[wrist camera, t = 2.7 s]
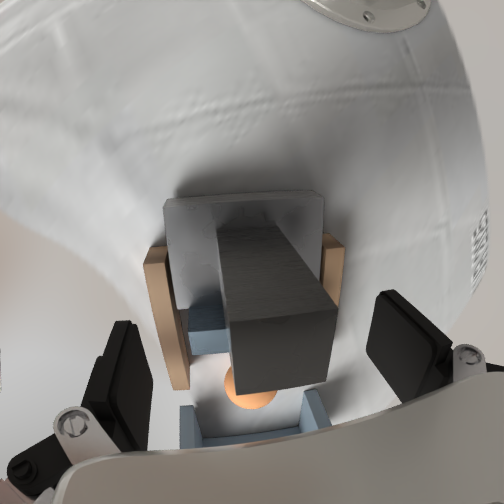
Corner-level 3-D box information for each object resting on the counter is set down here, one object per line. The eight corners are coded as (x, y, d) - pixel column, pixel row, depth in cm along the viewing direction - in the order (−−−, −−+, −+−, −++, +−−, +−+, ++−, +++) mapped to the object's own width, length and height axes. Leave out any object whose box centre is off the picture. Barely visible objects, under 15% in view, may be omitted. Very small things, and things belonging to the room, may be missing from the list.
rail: (149, 247, 18) (142, 264, 16) (329, 233, 19) (345, 247, 17) (174, 367, 22) (173, 390, 19) (317, 350, 23) (327, 371, 21)
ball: (220, 349, 22) (224, 388, 18) (272, 343, 22) (285, 380, 18) (224, 384, 23) (229, 421, 20) (272, 378, 24) (282, 414, 20)
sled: (167, 199, 16) (126, 284, 7) (311, 190, 17) (415, 256, 8) (183, 316, 19) (179, 446, 10) (306, 304, 21) (368, 415, 11)
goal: (179, 405, 24) (179, 451, 19) (316, 389, 25) (333, 430, 21) (193, 444, 26) (195, 483, 22) (308, 429, 28) (321, 465, 23)
